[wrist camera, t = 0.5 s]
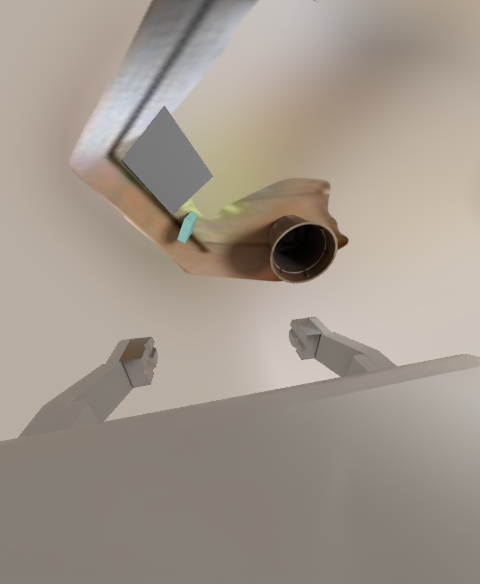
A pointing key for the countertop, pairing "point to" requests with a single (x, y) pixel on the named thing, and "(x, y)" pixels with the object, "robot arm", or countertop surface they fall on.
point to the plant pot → (301, 249)
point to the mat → (167, 162)
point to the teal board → (187, 226)
